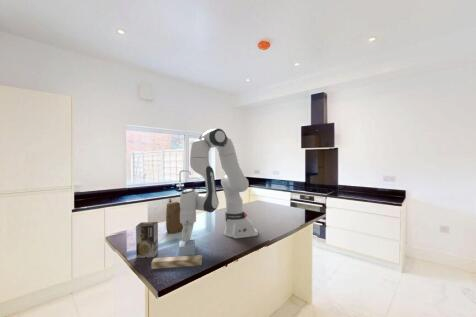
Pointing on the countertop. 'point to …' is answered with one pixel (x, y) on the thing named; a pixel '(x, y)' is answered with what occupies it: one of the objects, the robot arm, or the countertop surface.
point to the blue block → (187, 248)
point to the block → (173, 218)
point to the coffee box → (146, 239)
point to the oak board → (177, 261)
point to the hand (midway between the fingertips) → (188, 243)
